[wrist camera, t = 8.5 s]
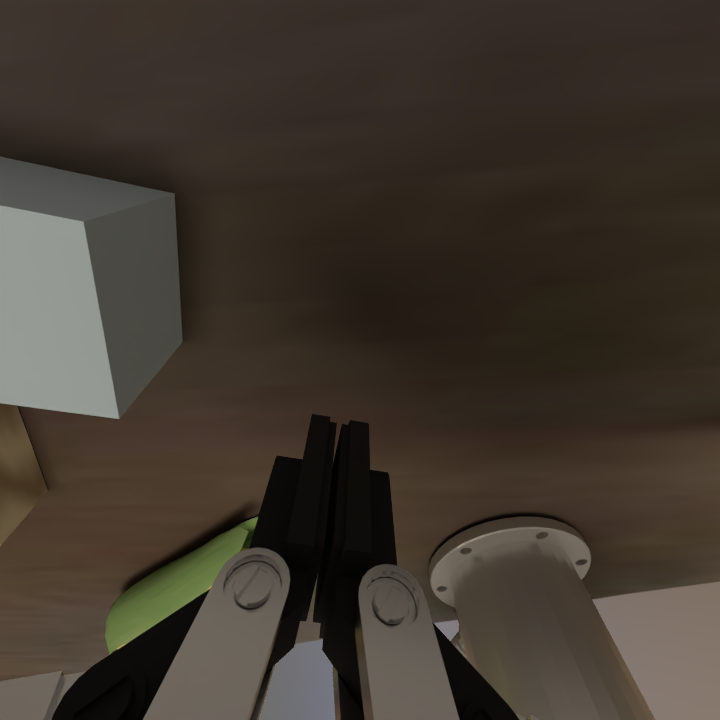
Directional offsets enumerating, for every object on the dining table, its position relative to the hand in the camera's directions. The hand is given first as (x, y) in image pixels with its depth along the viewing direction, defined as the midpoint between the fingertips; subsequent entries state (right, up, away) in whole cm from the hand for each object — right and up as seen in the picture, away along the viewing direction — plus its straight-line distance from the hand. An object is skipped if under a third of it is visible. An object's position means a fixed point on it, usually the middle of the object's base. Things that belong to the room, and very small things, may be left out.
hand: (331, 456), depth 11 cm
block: (-12, +8, +5) cm, 15 cm away
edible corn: (-12, -13, +18) cm, 25 cm away
